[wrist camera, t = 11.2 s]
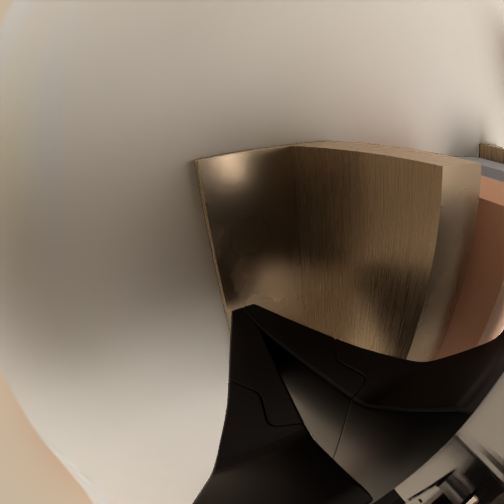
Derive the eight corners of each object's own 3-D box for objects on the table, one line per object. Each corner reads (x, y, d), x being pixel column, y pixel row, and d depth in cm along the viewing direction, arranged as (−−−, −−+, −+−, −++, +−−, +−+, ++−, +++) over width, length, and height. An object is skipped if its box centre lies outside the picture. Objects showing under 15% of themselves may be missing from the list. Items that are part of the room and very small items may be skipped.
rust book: (403, 293, 15) (488, 354, 9) (348, 321, 13) (440, 407, 7) (416, 159, 11) (539, 195, 5) (354, 164, 10) (519, 212, 4)
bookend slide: (330, 343, 13) (402, 421, 8) (242, 379, 12) (296, 482, 7) (330, 140, 9) (481, 163, 4) (194, 159, 8) (287, 188, 3)
